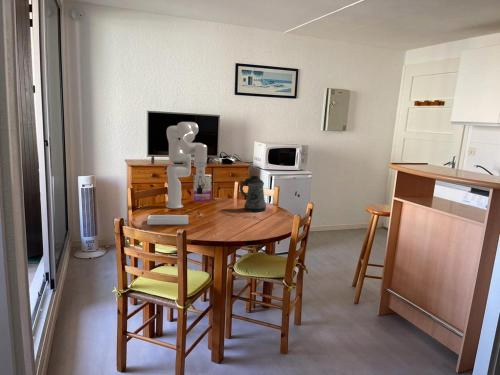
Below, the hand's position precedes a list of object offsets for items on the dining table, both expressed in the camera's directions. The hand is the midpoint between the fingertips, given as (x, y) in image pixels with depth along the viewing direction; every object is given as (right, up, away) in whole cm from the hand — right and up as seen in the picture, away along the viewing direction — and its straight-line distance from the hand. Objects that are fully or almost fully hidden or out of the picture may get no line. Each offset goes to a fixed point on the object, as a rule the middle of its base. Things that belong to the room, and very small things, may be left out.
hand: (199, 192), depth 227 cm
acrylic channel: (-19, -19, 0) cm, 27 cm away
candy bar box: (+1, -5, +1) cm, 6 cm away
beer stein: (+34, -14, +43) cm, 56 cm away
